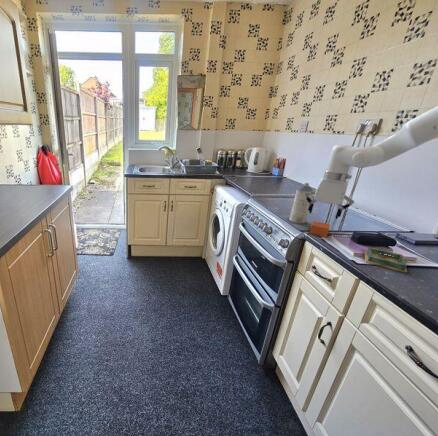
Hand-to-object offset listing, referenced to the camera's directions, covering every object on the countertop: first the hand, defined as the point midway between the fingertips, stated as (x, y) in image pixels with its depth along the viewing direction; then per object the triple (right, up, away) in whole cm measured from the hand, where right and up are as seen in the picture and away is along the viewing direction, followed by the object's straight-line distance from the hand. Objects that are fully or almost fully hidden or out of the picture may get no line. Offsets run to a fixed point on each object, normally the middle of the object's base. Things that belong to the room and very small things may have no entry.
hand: (323, 215), depth 107 cm
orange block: (0, -8, +3) cm, 9 cm away
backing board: (+8, -17, -19) cm, 27 cm away
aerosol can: (-2, -4, +16) cm, 17 cm away
